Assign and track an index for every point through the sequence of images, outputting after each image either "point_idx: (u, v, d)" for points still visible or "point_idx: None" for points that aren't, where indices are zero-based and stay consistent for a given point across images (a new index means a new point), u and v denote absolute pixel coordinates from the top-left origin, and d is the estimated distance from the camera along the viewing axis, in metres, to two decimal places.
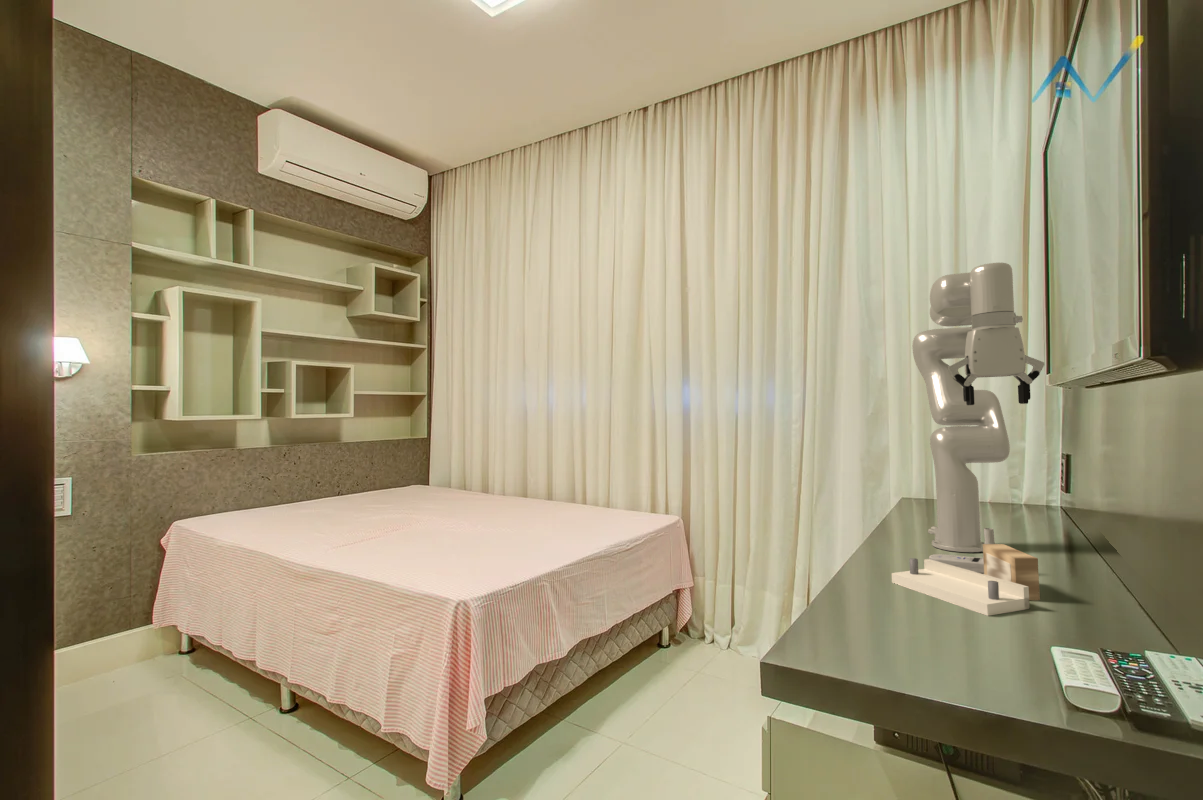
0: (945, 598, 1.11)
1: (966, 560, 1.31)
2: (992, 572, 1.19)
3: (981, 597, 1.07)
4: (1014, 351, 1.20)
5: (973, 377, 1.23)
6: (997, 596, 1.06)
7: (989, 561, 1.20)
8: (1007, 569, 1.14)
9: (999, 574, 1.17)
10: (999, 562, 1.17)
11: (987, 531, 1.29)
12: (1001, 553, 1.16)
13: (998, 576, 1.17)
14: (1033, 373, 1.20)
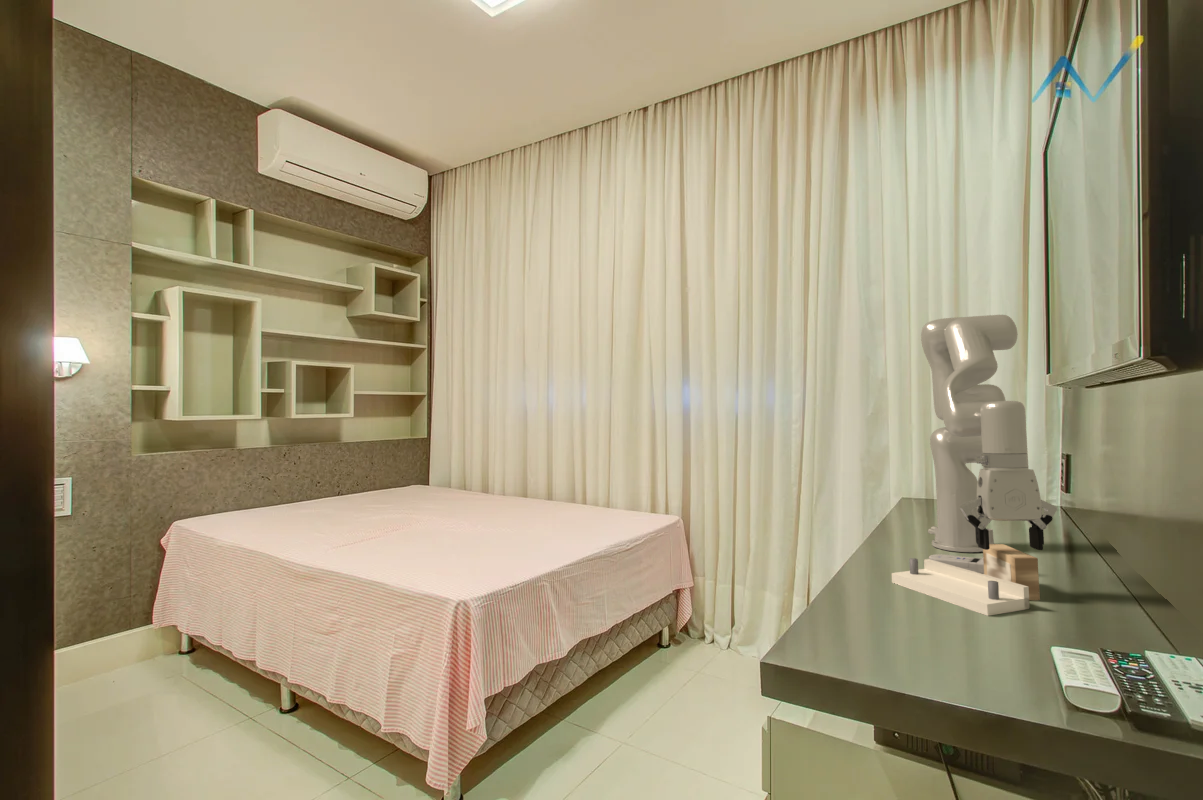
0: (945, 598, 1.11)
1: (965, 560, 1.31)
2: (992, 572, 1.19)
3: (981, 597, 1.07)
4: None
5: None
6: (997, 596, 1.06)
7: (989, 561, 1.20)
8: (1007, 569, 1.14)
9: (999, 574, 1.17)
10: (999, 562, 1.17)
11: None
12: (1001, 553, 1.16)
13: (998, 576, 1.17)
14: None
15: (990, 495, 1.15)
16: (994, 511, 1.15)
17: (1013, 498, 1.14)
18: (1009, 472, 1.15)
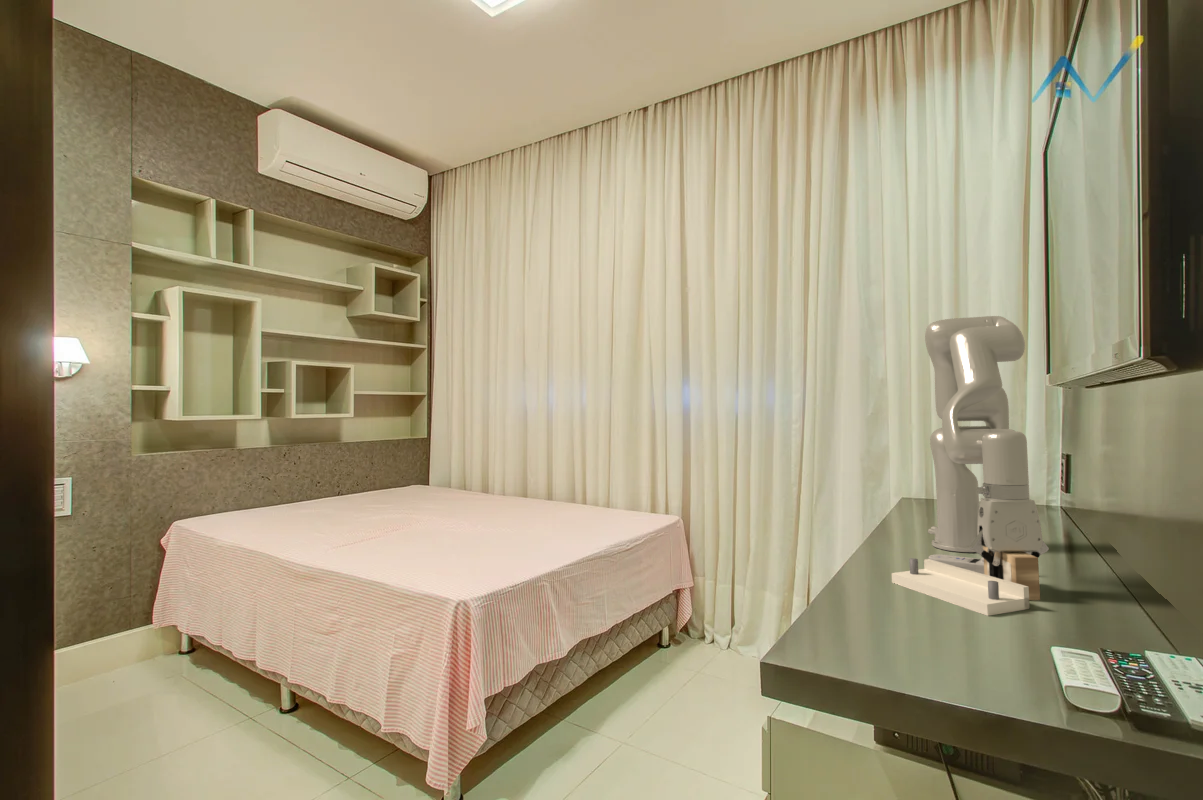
0: (945, 598, 1.11)
1: (964, 561, 1.31)
2: None
3: (981, 597, 1.07)
4: None
5: None
6: (997, 596, 1.06)
7: None
8: (1008, 569, 1.14)
9: None
10: None
11: None
12: (1001, 552, 1.16)
13: None
14: None
15: (991, 526, 1.15)
16: (995, 542, 1.15)
17: (1014, 529, 1.14)
18: (1010, 504, 1.15)
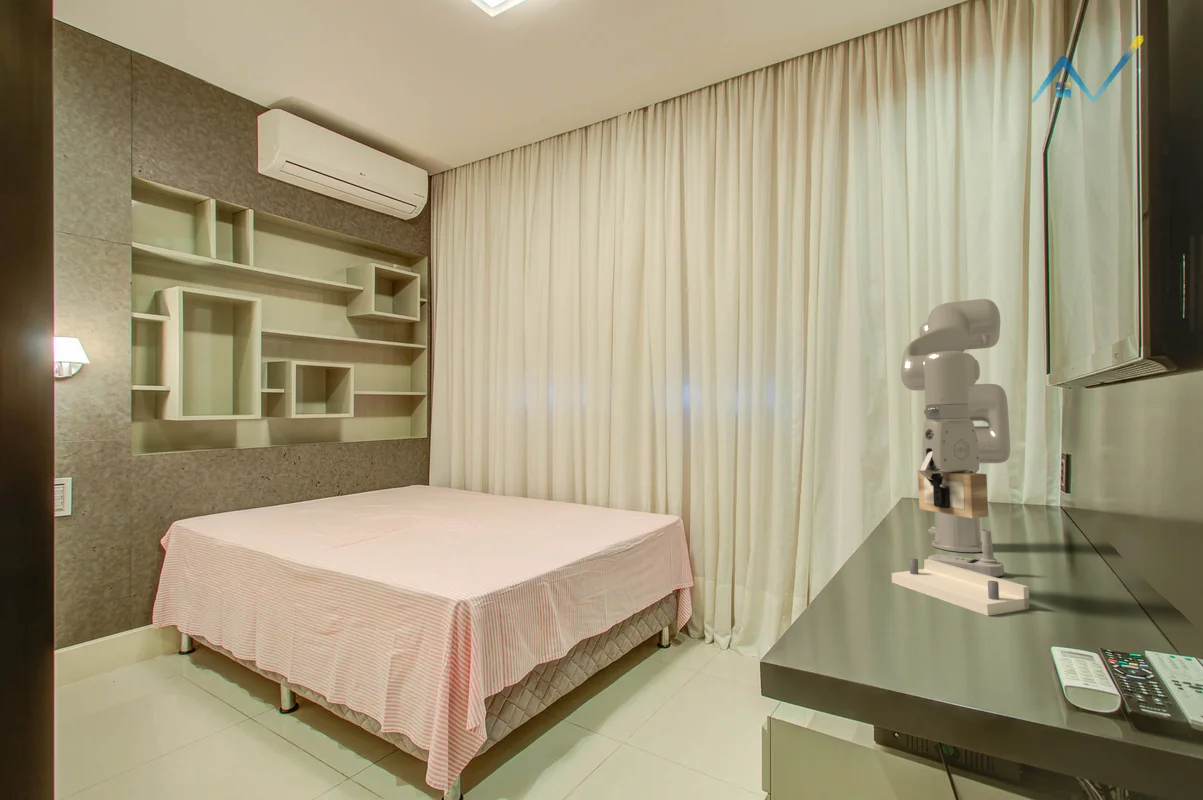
0: (945, 598, 1.11)
1: (963, 561, 1.31)
2: (933, 496, 1.17)
3: (981, 597, 1.07)
4: None
5: None
6: (997, 596, 1.06)
7: (929, 485, 1.18)
8: (958, 489, 1.11)
9: None
10: None
11: (983, 532, 1.28)
12: (948, 474, 1.14)
13: None
14: None
15: (943, 447, 1.12)
16: (946, 463, 1.12)
17: (960, 449, 1.13)
18: (957, 423, 1.13)
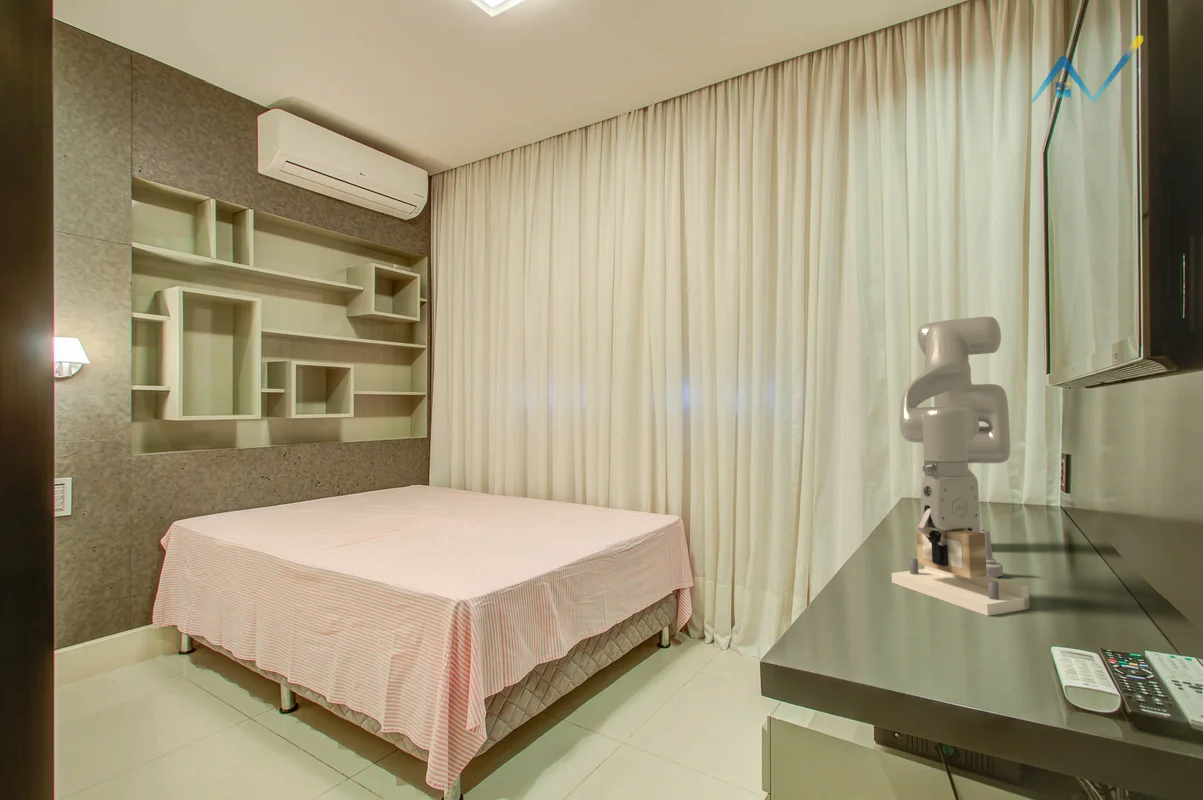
0: (945, 598, 1.11)
1: None
2: (931, 552, 1.16)
3: (981, 597, 1.07)
4: None
5: None
6: (997, 596, 1.06)
7: (927, 541, 1.17)
8: (956, 547, 1.11)
9: None
10: None
11: (982, 532, 1.28)
12: (946, 531, 1.13)
13: None
14: None
15: (941, 505, 1.11)
16: (944, 521, 1.11)
17: (958, 507, 1.12)
18: (955, 481, 1.13)
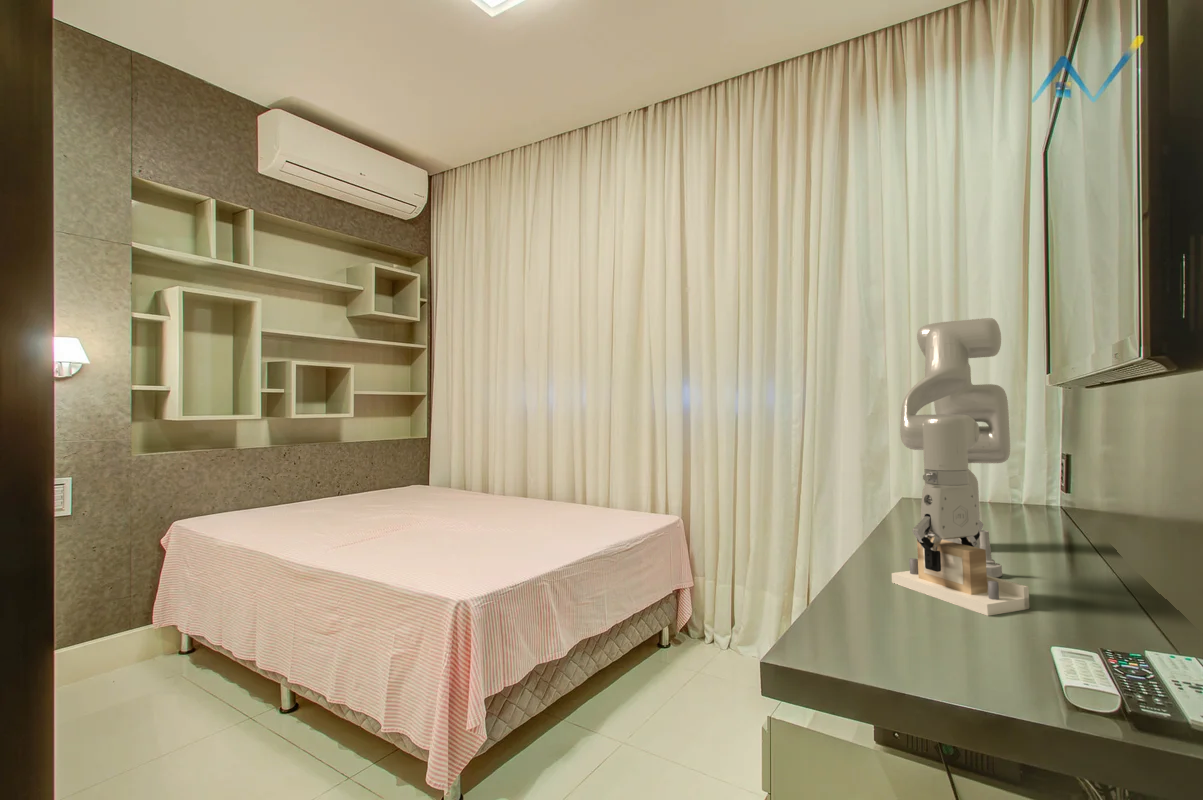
0: (945, 598, 1.11)
1: None
2: None
3: (981, 597, 1.07)
4: None
5: None
6: (997, 596, 1.06)
7: None
8: (957, 563, 1.11)
9: (943, 568, 1.14)
10: (944, 556, 1.14)
11: (981, 533, 1.28)
12: (947, 547, 1.13)
13: (942, 571, 1.14)
14: None
15: (941, 514, 1.12)
16: (945, 530, 1.11)
17: (959, 515, 1.13)
18: (955, 489, 1.13)
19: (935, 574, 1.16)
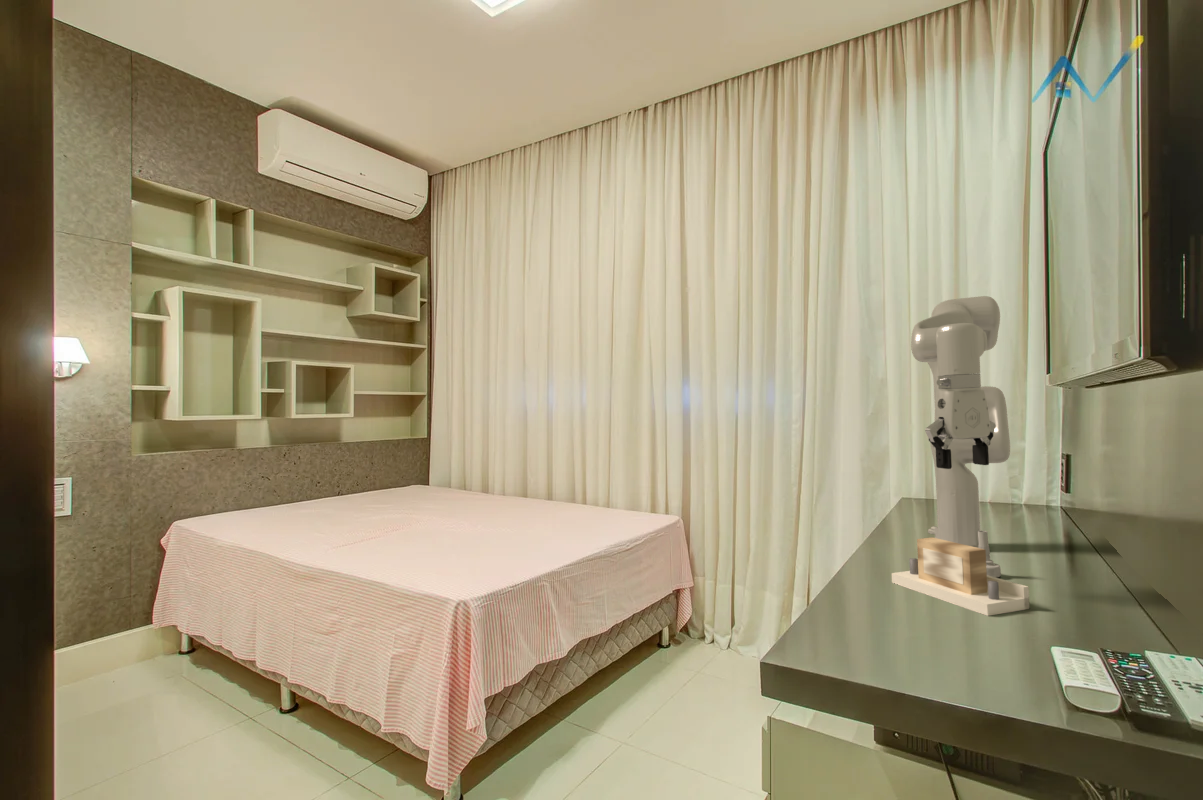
0: (945, 598, 1.11)
1: None
2: (932, 567, 1.17)
3: (981, 597, 1.07)
4: None
5: None
6: (997, 596, 1.06)
7: (928, 556, 1.18)
8: (957, 563, 1.11)
9: (943, 568, 1.14)
10: (944, 556, 1.14)
11: (979, 533, 1.27)
12: (947, 547, 1.13)
13: (942, 571, 1.14)
14: None
15: (954, 415, 1.17)
16: (958, 430, 1.17)
17: (971, 417, 1.18)
18: (968, 392, 1.18)
19: (935, 574, 1.16)
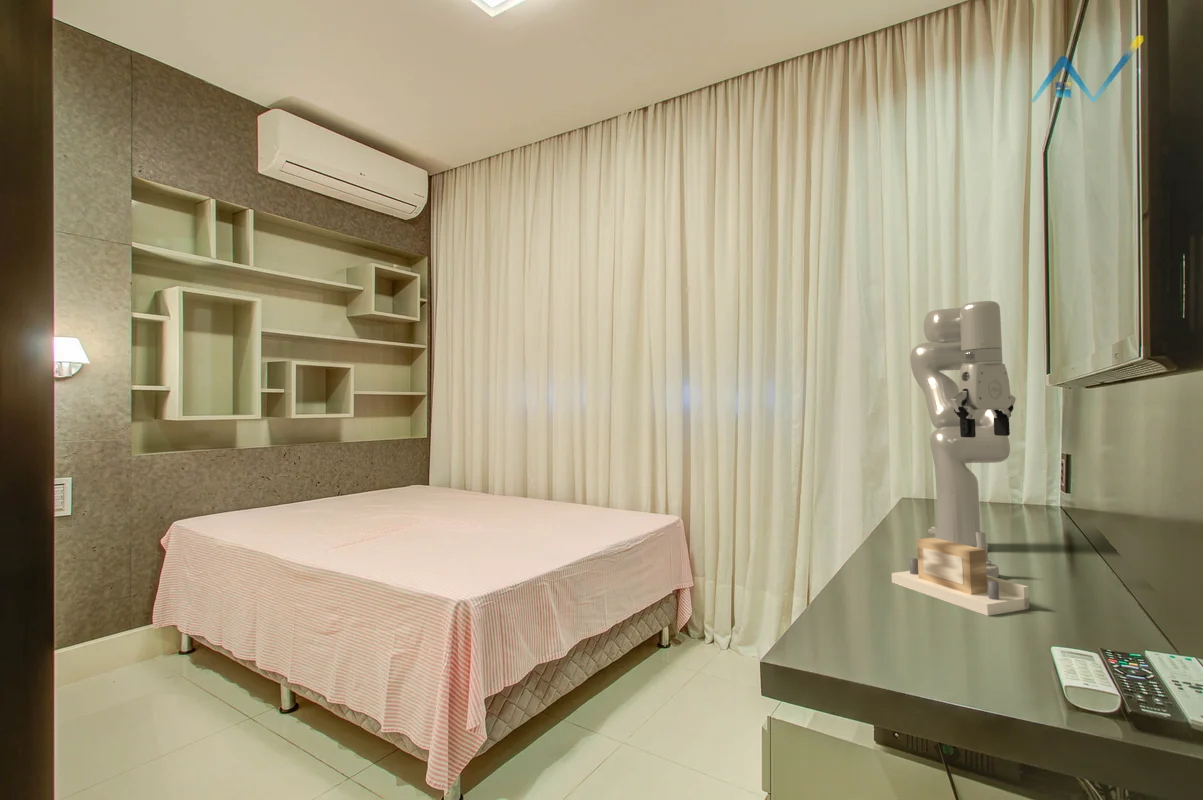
0: (945, 598, 1.11)
1: None
2: (932, 567, 1.17)
3: (981, 597, 1.07)
4: None
5: None
6: (997, 596, 1.06)
7: (928, 556, 1.18)
8: (957, 563, 1.11)
9: (943, 568, 1.14)
10: (944, 556, 1.14)
11: (977, 533, 1.27)
12: (947, 547, 1.13)
13: (942, 571, 1.14)
14: None
15: (978, 386, 1.24)
16: (981, 401, 1.24)
17: (994, 389, 1.25)
18: (991, 365, 1.25)
19: (935, 574, 1.16)
